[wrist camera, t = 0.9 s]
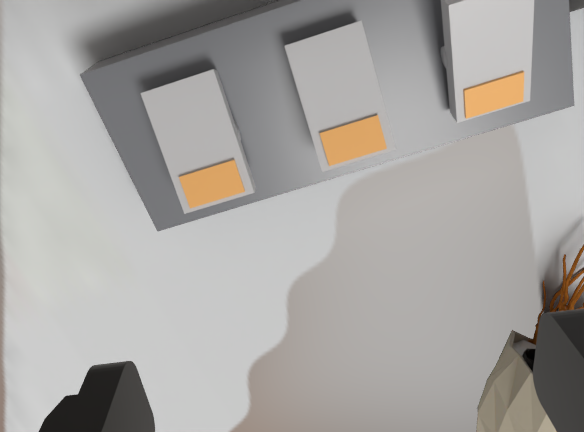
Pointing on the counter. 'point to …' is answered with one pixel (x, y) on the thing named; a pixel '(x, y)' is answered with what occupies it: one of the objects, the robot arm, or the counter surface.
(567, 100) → the power strip
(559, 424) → the robot arm
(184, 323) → the counter surface
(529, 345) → the nautilus
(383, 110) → the rocker middle
